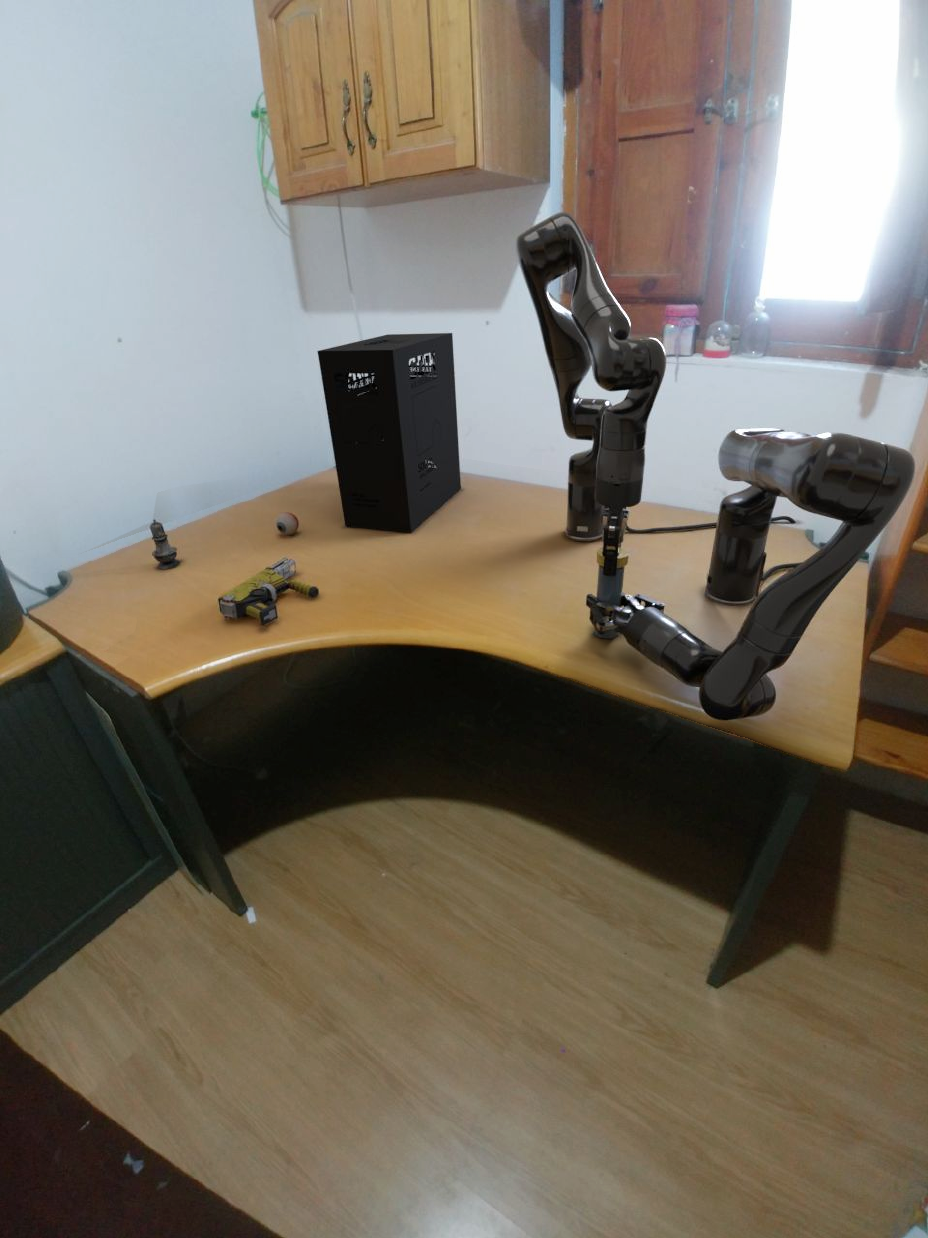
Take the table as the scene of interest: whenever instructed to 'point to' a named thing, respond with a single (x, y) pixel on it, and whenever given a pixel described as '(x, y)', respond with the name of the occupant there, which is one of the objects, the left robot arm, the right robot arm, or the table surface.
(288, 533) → the eyeball
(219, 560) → the table surface
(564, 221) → the left robot arm
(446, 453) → the cardboard box
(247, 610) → the toy gun
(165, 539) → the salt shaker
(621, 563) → the lid
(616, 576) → the blue grey cylinder
